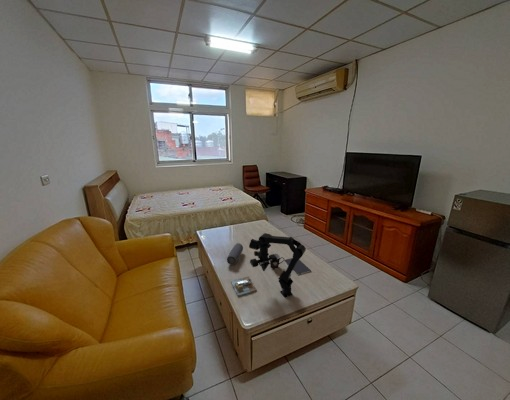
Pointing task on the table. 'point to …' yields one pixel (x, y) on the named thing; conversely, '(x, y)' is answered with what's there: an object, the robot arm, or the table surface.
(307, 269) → the notebook
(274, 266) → the coffee mug
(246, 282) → the latch bar
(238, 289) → the door panel
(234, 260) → the bluetooth speaker
